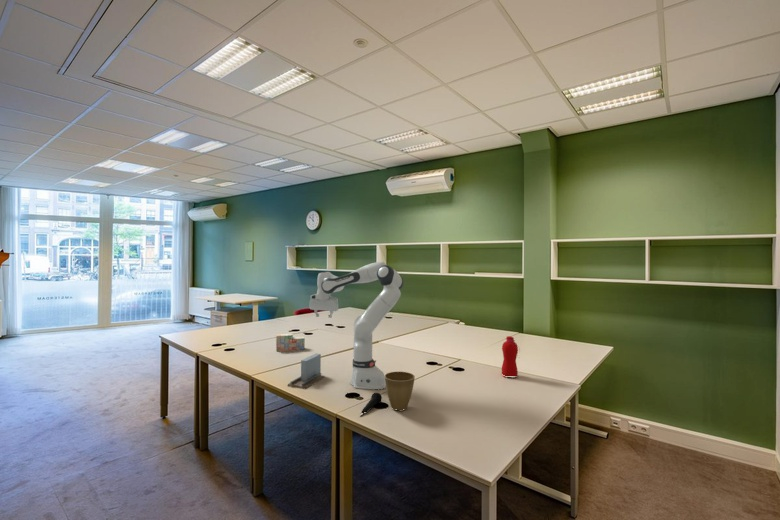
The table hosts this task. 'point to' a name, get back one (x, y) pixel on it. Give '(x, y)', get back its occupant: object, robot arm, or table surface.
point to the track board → (307, 383)
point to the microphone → (372, 401)
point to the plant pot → (399, 388)
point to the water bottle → (509, 357)
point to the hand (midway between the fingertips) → (323, 317)
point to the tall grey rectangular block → (310, 367)
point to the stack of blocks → (289, 342)
